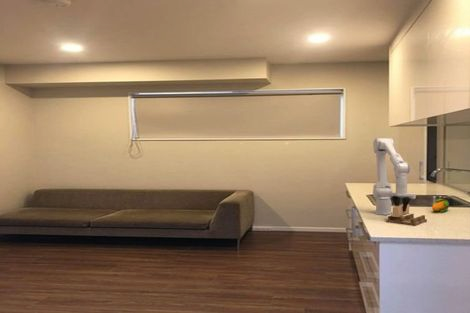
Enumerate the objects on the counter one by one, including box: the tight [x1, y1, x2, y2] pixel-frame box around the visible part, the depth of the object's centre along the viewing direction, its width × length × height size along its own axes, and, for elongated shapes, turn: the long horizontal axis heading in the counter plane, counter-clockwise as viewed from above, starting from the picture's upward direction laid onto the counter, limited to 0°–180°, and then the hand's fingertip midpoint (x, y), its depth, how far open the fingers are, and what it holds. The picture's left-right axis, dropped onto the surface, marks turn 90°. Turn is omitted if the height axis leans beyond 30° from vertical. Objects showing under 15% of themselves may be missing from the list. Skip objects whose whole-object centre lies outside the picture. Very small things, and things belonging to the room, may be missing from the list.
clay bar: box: [391, 203, 410, 217], centre depth 231 cm, size 14×3×5 cm, turn 136°
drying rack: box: [385, 213, 428, 227], centre depth 229 cm, size 16×15×3 cm
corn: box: [431, 198, 450, 213], centre depth 259 cm, size 7×8×20 cm
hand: (401, 210), depth 231 cm, fingers closed on clay bar, 3 cm apart
